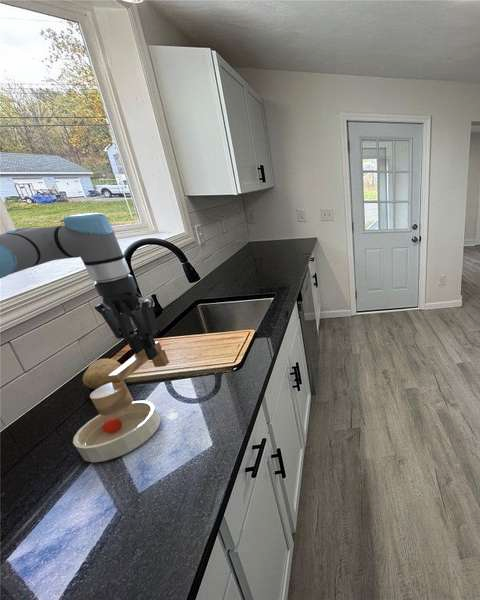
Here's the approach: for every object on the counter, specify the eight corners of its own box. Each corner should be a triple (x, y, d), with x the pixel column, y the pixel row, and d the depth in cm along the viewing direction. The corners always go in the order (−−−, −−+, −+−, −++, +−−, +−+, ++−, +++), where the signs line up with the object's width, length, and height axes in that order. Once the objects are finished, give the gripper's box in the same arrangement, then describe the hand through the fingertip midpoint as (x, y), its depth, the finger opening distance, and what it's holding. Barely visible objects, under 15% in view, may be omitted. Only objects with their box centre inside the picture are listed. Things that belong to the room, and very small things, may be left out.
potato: (88, 404, 93) (75, 382, 90) (90, 383, 103) (79, 362, 100) (129, 388, 99) (118, 367, 95) (128, 370, 109) (118, 350, 106)
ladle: (120, 414, 73) (107, 389, 70) (91, 417, 73) (77, 392, 70) (175, 361, 93) (166, 340, 90) (153, 363, 93) (144, 342, 90)
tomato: (102, 437, 79) (96, 426, 78) (113, 426, 82) (107, 415, 81) (117, 435, 79) (111, 424, 78) (127, 425, 83) (121, 414, 81)
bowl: (64, 467, 72) (53, 451, 70) (116, 418, 86) (108, 403, 84) (133, 460, 73) (124, 444, 71) (173, 412, 87) (167, 397, 85)
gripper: (153, 270, 81) (183, 348, 91) (93, 275, 81) (130, 353, 90) (132, 279, 75) (167, 362, 84) (67, 285, 74) (110, 368, 83)
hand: (148, 357), depth 87 cm, fingers closed on ladle, 2 cm apart
